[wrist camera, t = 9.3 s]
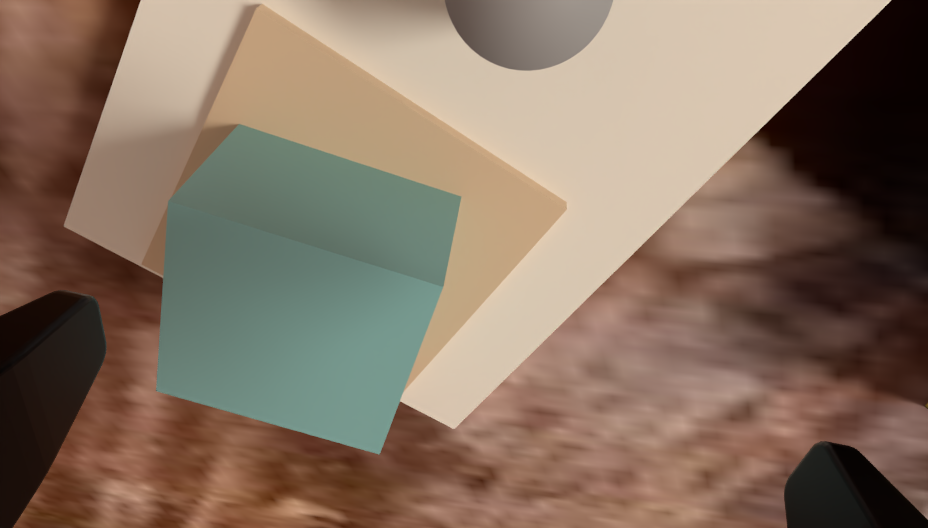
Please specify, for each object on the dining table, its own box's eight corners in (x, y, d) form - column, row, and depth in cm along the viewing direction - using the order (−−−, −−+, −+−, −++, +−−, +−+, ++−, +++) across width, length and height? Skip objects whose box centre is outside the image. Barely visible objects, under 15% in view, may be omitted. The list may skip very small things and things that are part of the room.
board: (375, -584, 11) (283, -794, 7) (921, -75, 15) (1063, -25, 11) (90, 201, 21) (-16, 297, 17) (458, 397, 25) (441, 516, 21)
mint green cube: (461, 196, 18) (443, 287, 15) (404, 353, 21) (379, 454, 18) (238, 124, 17) (167, 200, 14) (217, 296, 21) (156, 391, 17)
